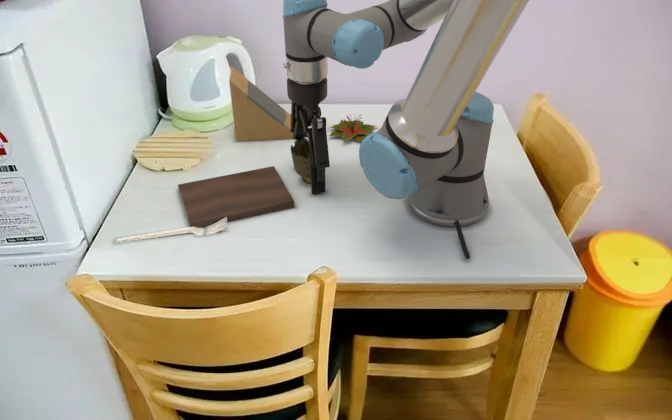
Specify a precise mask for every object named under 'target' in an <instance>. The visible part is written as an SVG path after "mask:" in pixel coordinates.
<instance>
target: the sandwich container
mask: <svg viewBox="0 0 672 420" xmlns="http://www.w3.org/2000/svg"><path fill="white" fill-rule="evenodd" d="M228 83H229V92H230V101H231V110H232V117H233V118H232V119H233V126H234V134H235V142H251V141H252V142H253V141H254V142H255V141H272V140H273V141H274V140H275V141H276V140H290V139H294V138H293V134H294V133H291V131H290V128H291V113H289V112H288V111H287V110H286V109H284V108H283V107H282V106H280V105H279V104H278V103H277V102H276V101H274V100H273V99H272V98H271V97H270V96H268V95H267V94H266V93H265V92H264V91H262V90H261V89H260V88H259V87H258V86H256V85H255V84H254V83H252V81H250V80H249V79H248V78H247V77H245V76H244V75H243V74H242V73H241V72H240V71H239V70H237V69H236V68H235V67H234V66H230V75H229V79H228Z"/></svg>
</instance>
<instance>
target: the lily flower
mask: <svg viewBox="0 0 672 420" xmlns="http://www.w3.org/2000/svg"><path fill="white" fill-rule="evenodd" d="M361 116H362V114H359V115H358V118H357V116H356V115H355V114H354V115H353V117H354V119H353V120H352V118H351V117H352V114H349V115H346V119H347V120H346V119H345V118H343V119H340V121H339V123H336V124H334V125H332V126H330V128H331V129H334V130H333V131H331V132H330V134H329V135H328V137H339V138H340V137H341V138H342V139H343V142H344V143H346V142H348V141H349V140H351V139H353V140H356V141H359V142H362V141H363V140H364V139H365V138H366V137H367V136H366V135H370V134H371V133H374V132H373V129H374V128H375V127H376V125H373V124H367V123H365V124H364V121H361V119H362V117H361Z"/></svg>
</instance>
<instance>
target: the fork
mask: <svg viewBox="0 0 672 420" xmlns="http://www.w3.org/2000/svg"><path fill="white" fill-rule="evenodd" d="M226 218H227V217H226ZM226 218H224V219H222V220H220V221H218V222H217V223H214V224H212V225H210V226H206V235H214V234H217V233H218V232H220V231H222V230H223V229H225V228H226V227H227V226H228V225H229V223H228V222H225V221H227V219H226ZM225 219H226V220H225ZM223 220H224V221H223ZM222 221H223V222H222ZM220 222H221V223H220ZM183 234H194V235H195V236H203V235H204V231H203V227H201V228H198V227H190V226H188V227H187V226H186V227H182V228H176V229H170V230H162V231H157V232H156V231H155V232H151V233H150V232H149V233H145V234H143V233H142V234H138V235H131V236H125V237H119V238H116V240H115V243H116V244H117V243H118V244H119V243H127V242H134V241H142V240H148V239H155V238H163V237H171V236H177V235H183Z"/></svg>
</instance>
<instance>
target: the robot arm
mask: <svg viewBox="0 0 672 420" xmlns="http://www.w3.org/2000/svg"><path fill="white" fill-rule="evenodd" d="M282 1H283V4H282V5H283V6H282V8H283V9H282V20H283V34H284V51H285V52H284V53H285V61H286V62H283V65H282V66H283V68H284V69H286V76H287V79H286V91H287V92H286V93H287V98H288V100H290V101H291V108H290V114H291V128H290V131H291V133H294V134H293V138H292V139H293V140H294V146H296V141H297V140H298V141H299V142H300V141H301V140H302V139H303V138H305V139H307V141H308V142H309V147H310V153H311V158H312V165H310V166H309V167H310V169H311V184H310V186H311V187H310V189H311V190H310V191H311V193H310V194H311V195H312V196H314V195H319V194H323V193H326V169H327V168H330V166H331V163H330V154H329V153H330V152H329V144H328V135H327V134H328V133H327V118H326V116H322V109H321V107H320V104H321V103H322V102H323V101H325V99H327V97H328V78H327V77H328V73H329V72H328V59H331V60H333V61H336V62H338V63H340V64H341V65H344V66H348V67H354V68H357V69H360V70H364V69H368V68H370V67H372V66H373V65H374V63H375V62H376V61H378V60H379V58H380V57H381V55H382V52H383V51H385V50H386V49H390V48H392V47H395V46H397V45H401V44H403V43H408V42H411V41H414V40H415V39H418V38H419V37H420V36H422V35H424V34H425V33H426V32H427V30H428V28H430V27H432V26H434V25H435V24H437V23H439V22H440V21H442V23H441V25H440V27H439V29H438V31H437V33H436V34H435V37H434V39H433V41H432V44H431V46H430V48H429V49H428V52H427V54H426V55H425V57H424V60H423V61H422V64H421V66H420V67H419V70H418V72H417V75H416V76H415V79H414V80H413V82H412V85H411V87H410V89H409V90H408V93H407V95H406V97H405V98H402V99H399V100H397V101H396V102H395V103H393V104H392V106H391V107H390V108H389V110H388V113H387V115H386V117H385V118H384V121H383V123H382V126H381V127H380V128H379V129H378V131H376V132H373V133H371V134H367V136H366V138H365V139H364V140H363V141H361V142H360V145H359V148H358V158H359V163H360V166H361V168H362V172H363V174H364V176H365V178H366V179H367V181H368V182H369V183H370V185H371V186H372V187H373V188H374V189H375V190H376V191H377V192H378V193H380V195H382V196H384V197H386V198H388V199H394V200H403V199H405V198H407V204H408V208H409V210H410V211H411V212H412V214H414V215H415V216H416V217H417V218H418V219H420V220H422V221H424V222H426V223H428V224H431V225H434V226H438V227H443V228H455V229H456V234H457V237H458V241H459V244H460V247H461V250H462V252H463V256H464V258H465V259H466V260H469V259H470V258H471V255H470V252H469V249H468V247H467V244H466V243H467V242H466V241H465V236H464V232H463V230H462V228H464V227H470V226H473V225H475V224H477V223H479V222H481V221H482V220H483V219H484V218H485V217H486V216H487V213H488V209H489V204H490V201H489V200H490V199H489V193H488V189H487V184H486V179H485V168H486V163H487V157H488V151H489V146H490V140H491V133H492V127H493V124H494V121H495V120H494V110H495V106H494V104H493V102H492V100H491V99H490V98H488V96H486V95H484V94H482V93H480V92H478V91H477V90H478V88H479V86H480V84H481V83H482V81H483V80H484V78H485V76H486V74H487V72H489V71H488V70H489V69H490V68H491V66H492V64H493V62H494V61H495V59H496V57H498V54H499V53H500V50H501V49H502V47H503V46H504V44H505V42H506V40H507V39H508V38H509V35H510V33H511V32H512V31H513V29H514V26H515V25H516V23H517V22H518V20H519V18H520V17H521V15H522V14H523V12H524V10H525V9H526V7H527V5H528V3H529V1H530V0H387V1H385V2H382V3H380V4H376V5H373V6H370V7H366V8H362V9H359V10H355V11H353V12H350V13H342V12H339V11H336V10H333V9H331V8H328V0H282Z"/></svg>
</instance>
